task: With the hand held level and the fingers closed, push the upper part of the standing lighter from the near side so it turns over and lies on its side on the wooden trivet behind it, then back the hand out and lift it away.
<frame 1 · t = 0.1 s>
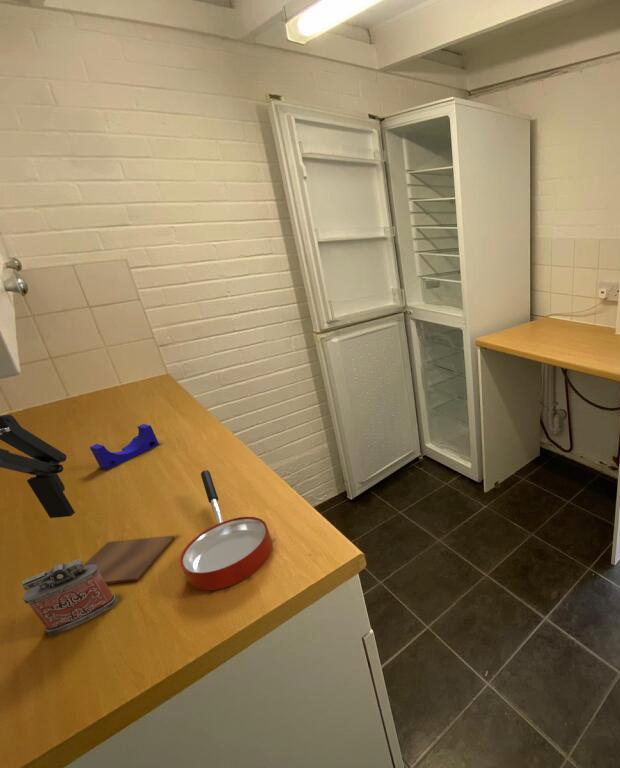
hand: (15, 552, 53), 19 cm above the kitchen counter, tool pointing down, fingers open, 13 cm apart
wooden trivet: (122, 561, 76), on the kitchen counter
lighter: (84, 616, 66), on the kitchen counter
frying pan: (219, 535, 81), on the kitchen counter
blue notched block: (129, 455, 109), on the kitchen counter
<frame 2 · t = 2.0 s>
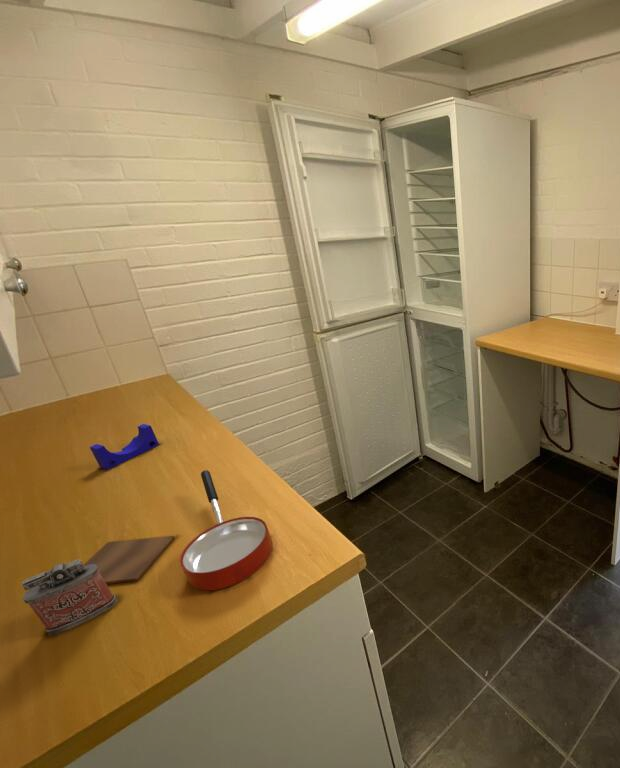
nothing on the kitchen counter moved.
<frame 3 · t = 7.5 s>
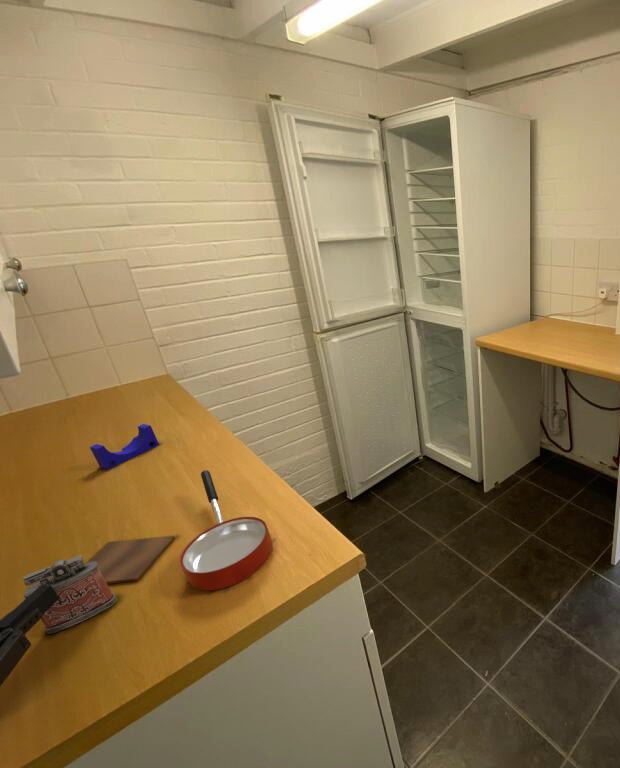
hand: (49, 592, 61), 7 cm above the kitchen counter, tool horizontal, fingers closed
nothing on the kitchen counter moved.
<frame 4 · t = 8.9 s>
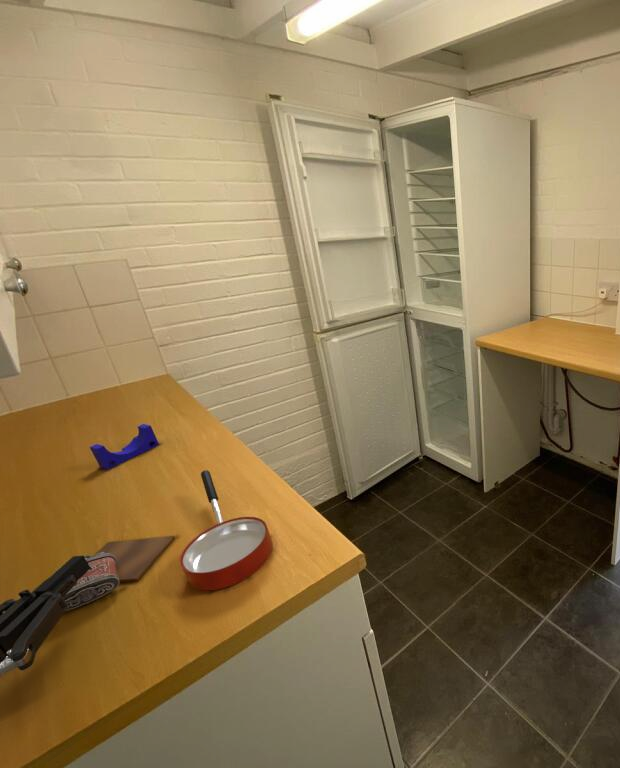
hand: (81, 562, 66), 7 cm above the kitchen counter, tool horizontal, fingers closed
lighter: (85, 595, 66), point 2 cm above the kitchen counter, touching wooden trivet
everything else where it was.
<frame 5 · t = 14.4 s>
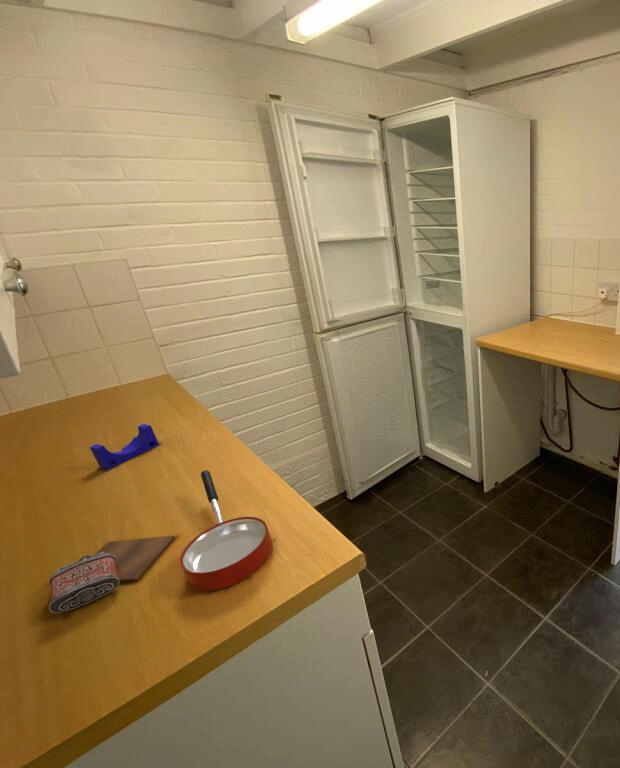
nothing on the kitchen counter moved.
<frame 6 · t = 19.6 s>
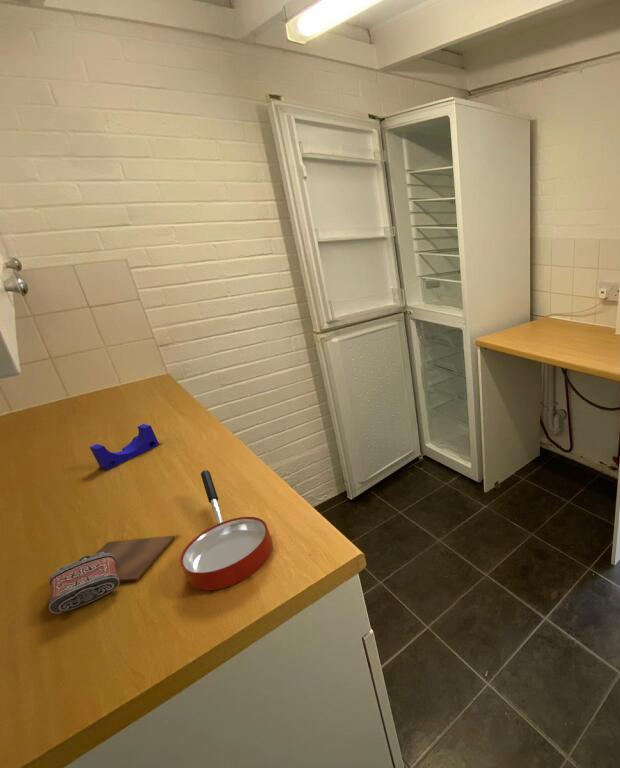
nothing on the kitchen counter moved.
at the end: lighter tilted 90°; lighter inside the target area (6.7 cm from its centre), point 2.3 cm above the kitchen counter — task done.
